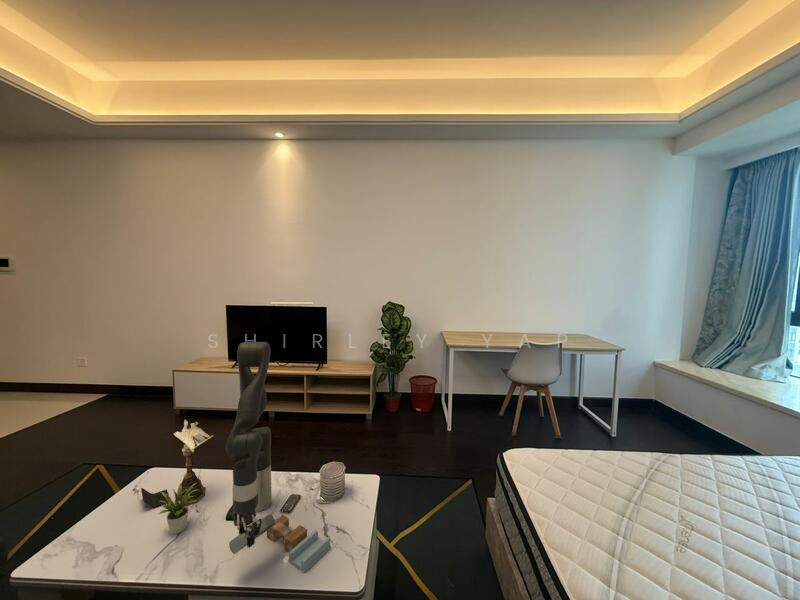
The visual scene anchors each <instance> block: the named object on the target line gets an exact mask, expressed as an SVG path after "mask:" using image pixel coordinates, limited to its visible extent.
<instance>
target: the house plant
mask: <svg viewBox="0 0 800 600" xmlns="http://www.w3.org/2000/svg"><path fill="white" fill-rule="evenodd" d="M195 484H196V483H195ZM195 484H193V485H192V486H191V487H190V488H188V490H187V489H186V490H187V492H186V493H185V495H184V496H182V497H181V495H182V493H183V492H182V486H181V484H179V485H178V487H177V491H175V489H174V488H172V490H173V494H174V497H173V499H174V498H175V499H176V505H175V501H173V500H172V498H171V497H170V495H167V494H165V493H163V492H161V493H162V494H163V495H164V497H165V498H166V500H167V502H168V503H167V502H165V501H160V502H163V503H165V504H166V505H163V506H162V508H164V509H162V510H161V511H159V513H158V515H160V514H165V513H167V515H166V522H167V524H168V530H169V533H170V534H172V535H176V534H180V533H181V532H183V531H184V530H186V528H187V524H188V517H189V511H190V510H189V508H188V507H189V506H191V505H192V504H191V503H193V502H196V501H195V500H191V501H188V502H187V503H186V501H187V500H188V499H189V498H190V497H193V496H189V495H190V494H191V493H192V492H194V491H197V490H193V491H191V492H190V490H191V489H192V488H193V486H194V485H195ZM186 490H185V491H186ZM185 491H184V492H185ZM189 492H190V493H189ZM188 493H189V494H188ZM190 502H191V503H190ZM188 503H190V504H191V505H190V504H189V505H187V506H185V505H186V504H188Z"/></svg>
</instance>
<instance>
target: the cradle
mask: <svg viewBox="0 0 800 600" xmlns="http://www.w3.org/2000/svg"><path fill="white" fill-rule="evenodd" d="M331 545H332V544H331V538H330V537H329V536H326V537H325V538H324V539H322V538H320V537H319V531H318V529H314V530H313V531H312V532H311V533H309V535H307V537H306V538H305V539H304V540H303V541H302V542H300V543H299V544H298V545H297V546H296V547H294V548H293V549H292V550H291V551H290V552H288V562H289V563H290V564H291V565H292V566H294V567H296V568H297V569H298V570H300V571H301V572H302V573H306V572H307V571H308V570H309V569H311V567H313V565H315V564H316V562H318V561H319V560H320V559H321V558H322V557H323V556H324V555H325V554H326V553H327V552H328V551H330V549H331V548H332V546H331Z"/></svg>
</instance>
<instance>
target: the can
mask: <svg viewBox="0 0 800 600" xmlns="http://www.w3.org/2000/svg"><path fill="white" fill-rule="evenodd" d="M346 468H347V467H346V466H345V464H344V463H343V462H341V461H340V462H339V461H331V462H328V463H326V464H323V465H322V466H321V468H320V469H319V470H318V472H319V486H320V487H319V496H321V497H322V498H323V499H324V500H325V501H324V502H325V503H335V502H338V501H340V500H342V499H343V498H344V497H345V495H346Z"/></svg>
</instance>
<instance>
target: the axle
mask: <svg viewBox="0 0 800 600" xmlns="http://www.w3.org/2000/svg"><path fill="white" fill-rule="evenodd" d="M261 520H262V523H261V527H260V532H259V534H257V535H256V536H255V540H256V539H258V538H259V537H260V536H261V535H264V534H265V533H267V530H268V529H270V528H271V527H273V526H274V525H275V517H274V516H273V515H272V514H268V515H266V516H265V517H264V518H262V519H261ZM251 529H252V528H251ZM251 529H250V532H251ZM228 545H229V546H228V547H229V549H230V552H231V553H232V554H233V555H235V554H237V553H238V552H240V551H241V550H242V549H244V548H245V547H247V533H246V531H244V532H243V533H241V534H240V535H239V534H238V535H237V536H236V537H234V538H233V539H231V540H230V541H229V544H228Z"/></svg>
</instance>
